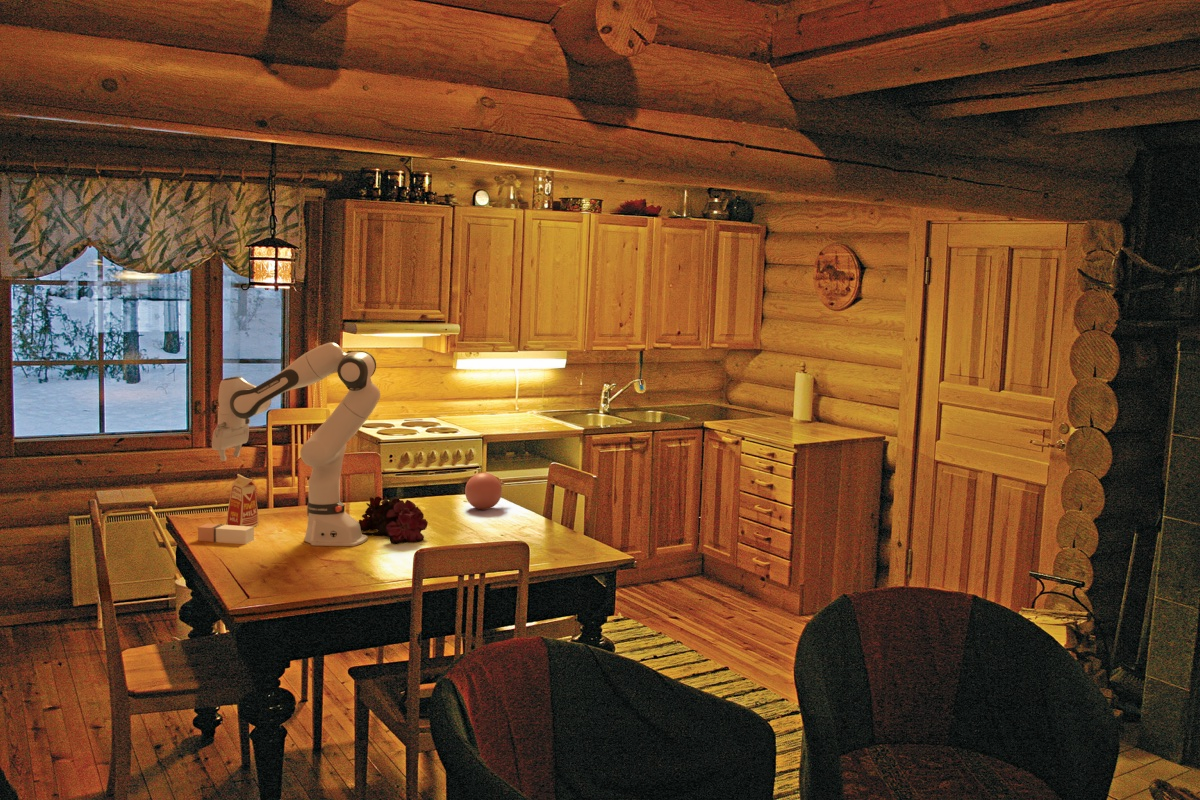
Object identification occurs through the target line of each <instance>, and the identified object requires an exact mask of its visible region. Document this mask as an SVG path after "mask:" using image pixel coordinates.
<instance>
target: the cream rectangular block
mask: <svg viewBox="0 0 1200 800" xmlns="http://www.w3.org/2000/svg"><path fill="white" fill-rule="evenodd" d="M254 539H255V527H250V526H235V525H226V524H225V523H224V524H223V523H222V525H220V526H218V527H216V528H214V542H213V543H225V544H238V545H239V544H241V545H248V544H249V543H251V542H253V541H255V540H254Z"/></svg>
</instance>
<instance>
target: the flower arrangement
mask: <svg viewBox="0 0 1200 800" xmlns="http://www.w3.org/2000/svg"><path fill="white" fill-rule="evenodd" d="M382 499H383V498H382V497H381V496H375V497H369V503H367V502H366V505H367V506H368V507H367V508H366V510H365V511H364V514H362V515H361V517H362V519H359V520H358V522H359V524H360V528H361V534H362V535H367V537H386V538H388V540H389V541H390V544H391V545H399V544H411V543H412V544H416V543H420V542H423V541H424V540H425V536H424V535H423V533H422V531H425V530H426V529H427V528H428V523H429V522H428V521H427V519H425V518H424V513H423V511H422V510H421V509H420V508H419V506H416V503H414V502H413V501H411V500H408V499H406V500H405V501H404V500H403V499H402V500H401V499H400V498H399V497H397V496H393V497H389V498H388V496H387V495H386V496H385V497H384V499H383V500H382ZM374 530H375V531H374ZM369 531H370V532H369ZM371 531H373V532H371Z"/></svg>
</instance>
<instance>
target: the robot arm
mask: <svg viewBox="0 0 1200 800" xmlns="http://www.w3.org/2000/svg"><path fill="white" fill-rule="evenodd" d="M376 369H377V361H376V359H375V357H374V356H373V355H372V353H369V352H368V351H364V350H347V351H346V352H344V350H343V348H342V347H341V346H340V345H339V344H337V343H335V342H331V341H330V342H326V343H324V344H323V343H322V344H321V345H319V346H316V347H315V348H313V349H311V350H308V351H307V352H305V353H303V354H302V355H300V356H299V357H298V358H296V359H295V360H294V361H293V362H291V364H289V365H288V366H286V367H285V368H284V369H283V370H281V371H279V373H277V374H276V375H274V376H273V377H271V378H270V379H268V380H266V381H264V382H262V383H261V384H258V385H255V384H252V383H250V382H248V381H246V379H244V377H242V376H231V377H226V378H225V377H224V379H222V380H221V381H220V383H219V387H218V388H219V389H218V397H217V398H218V399H217V400H218V406H219V408H218V412H217V425H216V427H215V429H214V430H213V433H212V440H211V448H212V451H213V450H214V451H217V452H218V455H219V461H220V462H225V461H227V457H228V456H227V455H226V452H227V451H226V450H227V449H229V448H233V447H234V451H233V453H232V456H233V457H234V458H238V457H240V454H241V449H242V446H243V444H247V442H248V441H249V434H250V423H251V419H250V418H252V417H254V416H256V415H259V414H263V413H264V412H267V410H268V409H269V408H270V407H271V404H272V400H273V399H274V398H275V397H277V396H279V395H281V394H284V393H285V392H288V391H291V390H295V389H299V388H304V387H308V386H311V385H314V384H316V383H319V382H320V381H322V380H324V379H325V378H327V377H329V376H331V375H332V374H336V373H337V375H338V378H339V379H340V381H341V382H342V383H343V384H344V385H345V387H346V388H347V389H348V392H347V393H346V395H345V396H344V397H343V399H342V400H341V401H340V403H339V404H338V405H337V406H336V407H335V409H334V410H333V411H332V412H331V414H330V415H329V417H328V418H326V420H324V421H323V423H322V424H321V425H320V426H319V427H318V428H317V429H316V430H315V431H314V432H313V434H312V435H311V436H310V437H309V438H308V439H307V440H306V441H305V442H304V443H303V445H302V446H301V448H300V452H299V453H300V459H301V461H302V462H303V463H304V464H305V465H307V466H308V467H311V468H312V469H311V473H310V476H309V479H308V501H307V504H306V505H307V506H306V508H307V509H306V510H307V527H306V531H305V535H304V540H303V541H304V542H305V543H309V544H310V545H311V546H314V547H315V546H318V547H319V546H321V547H323V546H325V547H326V546H327V547H328V546H329V547H331V546H332V547H353V546H359V545H361V544H363V543H365V542H366V541H368V536H367V535H362V531H361V528H360V524H359V520H358V521H357V520H356V519H355V518H354V517H352V516H351V515H350V514H349V513H348V512H346V511H345V509H346V506H347V502H346V503H343V502H342V501H341V497H340V496H341V487H340V486H341V475H342V470H343V464H344V456H345V453H346V451H347V447H348V446H347V443H348V442H349V441H350V440H352V438H353V437H354V436H355V435H356V433H357V432H358V431H359V430H360V428H361V427H362V426H363V425H364V423H365V422H366V421H367V419H368V418H369V417H370V416H371V415H372V413H373V411H374V410H375V407H377V404H378V403H379V400H380V398H381V391H380V389H379V388H378V386H376V384H375V383H373V381H372V377H373V375H374V374H375V372H376Z"/></svg>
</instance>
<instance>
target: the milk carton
mask: <svg viewBox="0 0 1200 800" xmlns="http://www.w3.org/2000/svg"><path fill="white" fill-rule="evenodd" d="M252 481H253V479H251V478H247V477H245V476H243V475H241V474H239V473H237V478H236V479H235V480H234V481H232V484H231V489H230V490H231V491H230V496H229V502H228V506H227V507H228V508H227V514H226V522H225V525H235V526H250V527H254V528H255V527H257V526H258V525H259V523H260V522H259V509H258V501H257V495H256V488H255V487H256V486H255V484H254V482H252Z"/></svg>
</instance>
